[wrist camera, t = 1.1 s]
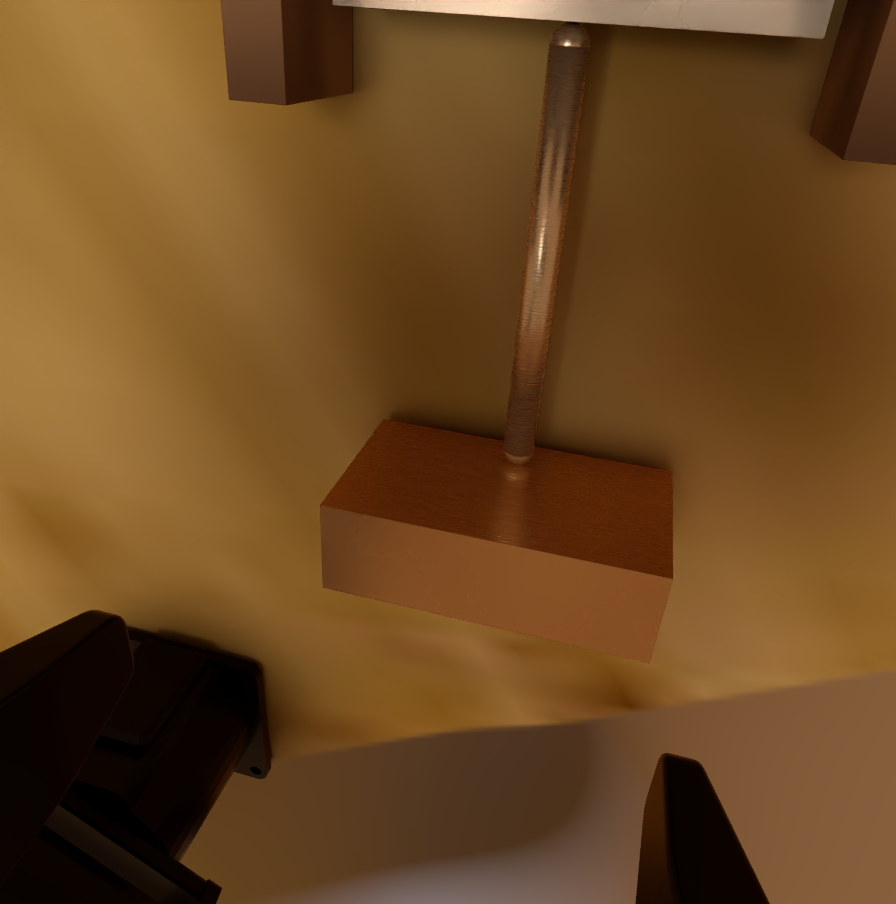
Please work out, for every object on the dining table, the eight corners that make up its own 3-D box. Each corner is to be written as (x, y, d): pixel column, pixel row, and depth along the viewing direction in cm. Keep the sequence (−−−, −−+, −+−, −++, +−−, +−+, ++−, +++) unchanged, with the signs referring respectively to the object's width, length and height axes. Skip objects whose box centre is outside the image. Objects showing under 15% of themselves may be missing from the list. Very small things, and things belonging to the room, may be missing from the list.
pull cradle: (664, 549, 20) (662, 666, 17) (373, 490, 22) (311, 585, 18) (1000, -710, 10) (1213, -1189, 6) (383, -642, 11) (238, -981, 7)
